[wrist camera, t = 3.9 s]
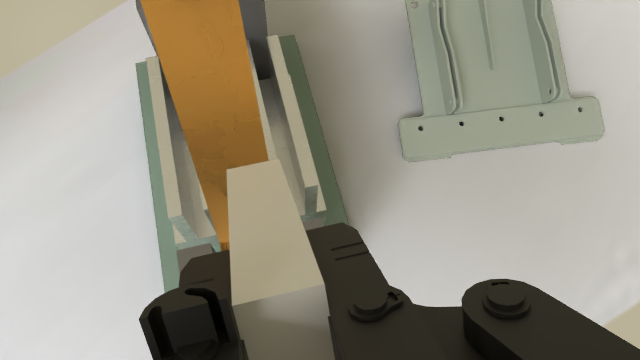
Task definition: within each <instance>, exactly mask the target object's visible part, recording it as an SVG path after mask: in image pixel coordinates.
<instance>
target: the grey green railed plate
mask: <svg viewBox="0 0 640 360" xmlns="http://www.w3.org/2000/svg"><path fill="white" fill-rule="evenodd" d="M279 42H280V46H281V49H282V53H283V57H284V60H285V64H286V68H287V71H288V75H290V77H291V81H292V85H293V88H294V92H295V96H296V99H297V103H298V107H299V110H300V114H301V118H302V121H303V125H304V129H305V132H306V136H307V140H308V143H309V147H310V151H311V154H312V158H313V162H314V165H315V169H316V173H317V176H318V180H319V184H320V187H321V191H322V195H323V198H324V202H325V206H326V209H327V211H326V219H325V221H323V224H324V226H328V225H332V224H337V223H341V222H343V223H345V224H347V225H349V224H348V221H347V217H346V214H345V210H344V207H343V203H342V200H341V196H340V193H339V189H338V186H337V182H336V179H335V175H334V172H333V169H332V165H331V162H330V158H329V155H328V151H327V148H326V144H325V141H324V137H323V134H322V130H321V127H320V123H319V120H318V116H317V113H316V109H315V106H314V102H313V99H312V96H311V92H310V89H309V85H308V82H307V78H306V75H305V71H304V68H303V64H302V61H301V57H300V54H299V50H298V47H297V43H296V40H295V36H294V35H291V36H286V37H280V38H279ZM136 71H137V78H138V86H139V94H140V102H141V110H142V117H143V125H144V133H145V141H146V149H147V157H148V164H149V172H150V180H151V188H152V196H153V204H154V211H155V219H156V227H157V235H158V243H159V250H160V258H161V266H162V274H163V282H164V290H165V293H166V292H168V291H170V290H172V289H175V288H178V287H179V279H180V274H179V267H178V260H177V253H176V251H177V250H180V249H179V248H178V247H177V245H176V244H175V237H174V230H173V223H172V222H171V221H170V219H169V218H168V213H167V205H166V198H165V191H164V184H163V177H162V169H161V162H160V155H159V148H158V141H157V133H156V126H155V119H154V112H153V104H152V97H151V90H150V83H149V76H148V68H147V62H141V63H136ZM213 248H214V249H215V251H216V252H220V251H221V248H220V245H216V246H213Z"/></svg>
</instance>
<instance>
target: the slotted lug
mask: <svg viewBox="0 0 640 360" xmlns="http://www.w3.org/2000/svg"><path fill="white" fill-rule="evenodd" d="M238 1H239V6H240V12H241V17H242V22H243V28H244V33H245V38H246V40H249V45H250V49H251V53H252V57H253V61H254V65H255V69H256V74H257V78H258V81H259V80H264V79H269V78H270V68H269V58H268V49H267V39H266V37H267V36H268V35H267V25H266V15H265V5H264V0H238ZM136 7H137V10H138V13H139V15H140V17H141V20H142V22H143V24H144V27H145V29H146V31H147V34H148V36H149V38H150V40H151V43H152V45H153V47H154V50H155V52H156V54H157V56H158V53H157V50H156V47H155V44H154V41H153V38H152V35H151V32H150V29H149V25H148V22H147V19H146V16H145V13H144V10H143V7H142V4H141V1H140V0H136ZM158 57H159V56H158Z"/></svg>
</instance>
